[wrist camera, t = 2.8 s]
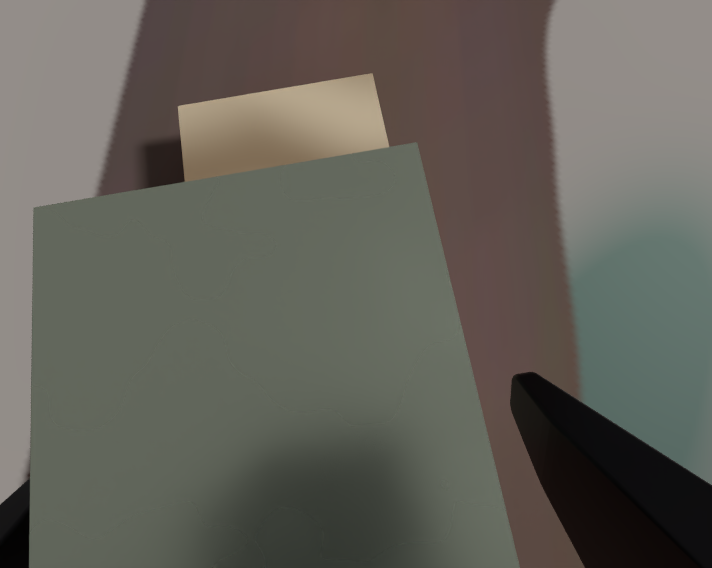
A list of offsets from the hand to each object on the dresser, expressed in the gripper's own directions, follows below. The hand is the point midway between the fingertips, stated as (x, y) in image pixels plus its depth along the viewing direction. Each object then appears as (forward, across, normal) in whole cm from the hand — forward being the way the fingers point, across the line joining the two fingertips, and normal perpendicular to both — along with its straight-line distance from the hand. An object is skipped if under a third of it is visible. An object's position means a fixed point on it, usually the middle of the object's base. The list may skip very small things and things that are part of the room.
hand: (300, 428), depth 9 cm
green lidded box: (+7, 0, +5) cm, 9 cm away
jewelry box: (+13, 0, 0) cm, 13 cm away
